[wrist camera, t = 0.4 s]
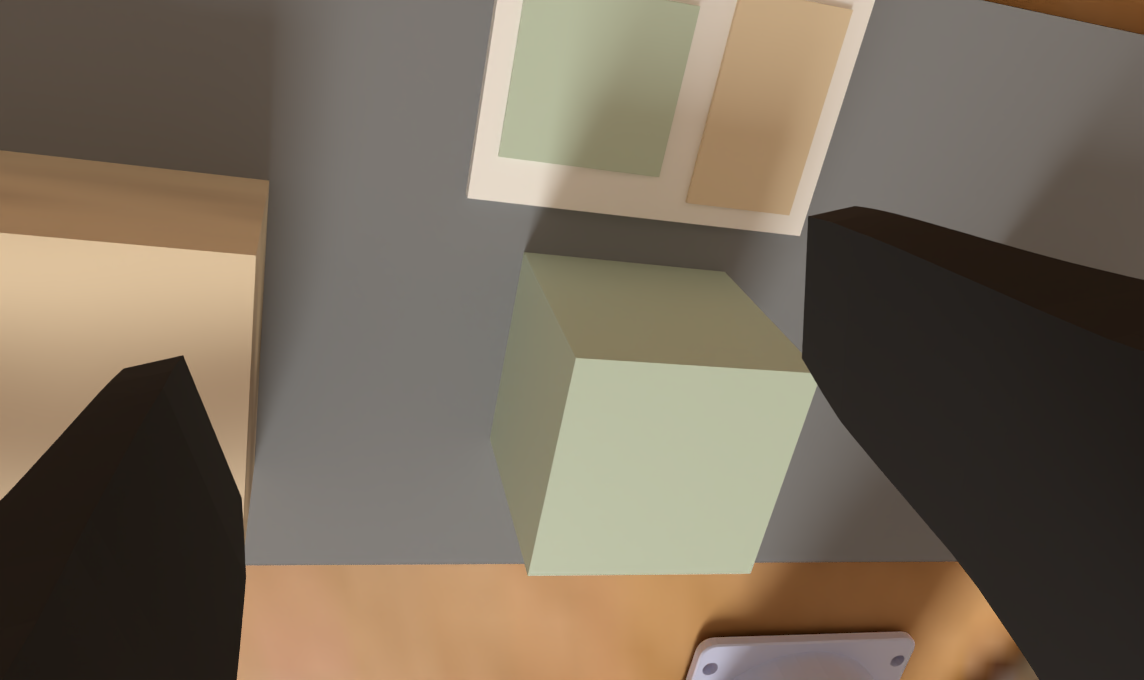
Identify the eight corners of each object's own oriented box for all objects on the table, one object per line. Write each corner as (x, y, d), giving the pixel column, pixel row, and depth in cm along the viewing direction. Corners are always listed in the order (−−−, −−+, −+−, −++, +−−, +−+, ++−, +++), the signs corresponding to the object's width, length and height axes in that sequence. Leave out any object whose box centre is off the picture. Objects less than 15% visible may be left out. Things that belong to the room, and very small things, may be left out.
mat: (998, 544, 30) (1013, 561, 30) (-90, 544, 21) (-104, 567, 20) (1240, 55, 23) (1267, 61, 23) (-208, -255, 14) (-235, -261, 14)
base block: (253, 465, 21) (240, 583, 18) (-94, 457, 19) (-184, 587, 16) (269, 180, 18) (256, 255, 15) (-139, 134, 16) (-264, 209, 13)
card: (794, 231, 22) (801, 237, 22) (465, 193, 19) (468, 199, 19) (871, -13, 19) (881, -11, 19) (507, -90, 17) (511, -89, 17)
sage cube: (675, 445, 24) (750, 573, 20) (489, 438, 23) (527, 575, 18) (724, 272, 22) (820, 373, 18) (524, 252, 20) (575, 357, 16)
